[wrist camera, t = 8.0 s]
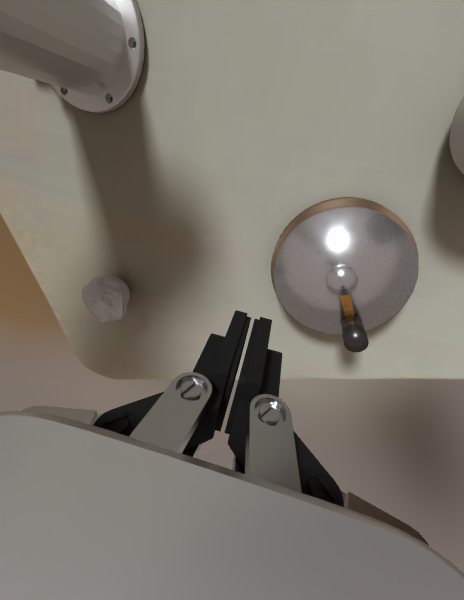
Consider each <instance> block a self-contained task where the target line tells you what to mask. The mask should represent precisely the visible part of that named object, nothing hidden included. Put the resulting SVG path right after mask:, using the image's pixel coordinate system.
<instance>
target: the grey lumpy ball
mask: <svg viewBox="0 0 464 600" xmlns="http://www.w3.org/2000/svg"><path fill="white" fill-rule="evenodd" d="M82 297H83V300H84V302H85V305H86V306H87V308H88V309H89V310H90V311H91V313H92V314H93V315H94V316H96V317H97V318H98V320H99V322H107V321H117V320H121V319H122V317H123V316H124V314H125V313H126V312H127V310H126V309H127V303H128V301H129V298H130V291H129V288H128V286H127V284H126V283H125V282H124V281H122V280H121V279H119V278H116V277H98V278H94V279H92V280H91V281H90V282H89V284H88V285H86V286H85V287H84V288H83V290H82Z"/></svg>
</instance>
